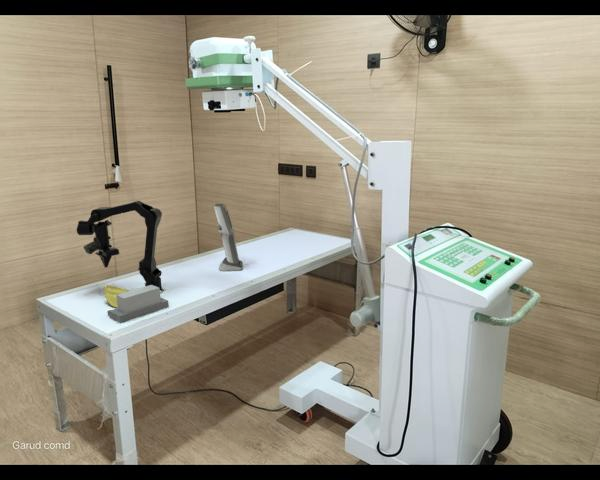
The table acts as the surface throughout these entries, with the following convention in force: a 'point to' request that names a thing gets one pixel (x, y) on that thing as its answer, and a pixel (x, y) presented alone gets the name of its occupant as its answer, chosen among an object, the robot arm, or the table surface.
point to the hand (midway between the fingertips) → (106, 267)
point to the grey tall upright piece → (227, 240)
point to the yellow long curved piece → (113, 294)
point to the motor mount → (138, 303)
